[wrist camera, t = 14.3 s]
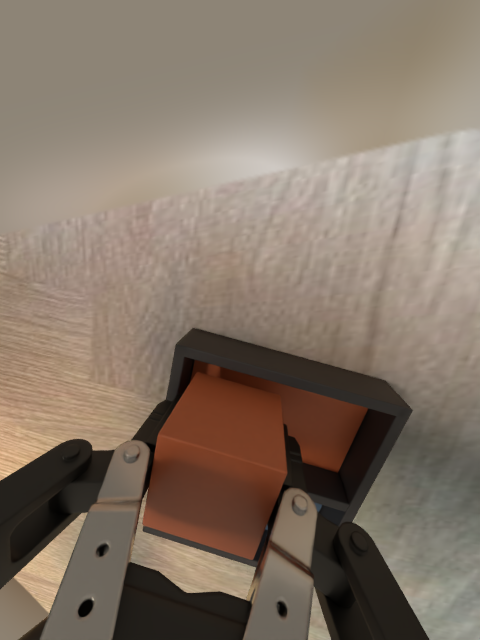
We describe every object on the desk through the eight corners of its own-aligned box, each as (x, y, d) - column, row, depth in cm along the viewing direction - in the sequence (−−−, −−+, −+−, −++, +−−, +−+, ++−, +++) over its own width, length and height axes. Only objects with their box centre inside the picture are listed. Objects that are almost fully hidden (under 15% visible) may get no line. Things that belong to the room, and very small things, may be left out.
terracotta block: (182, 439, 14) (141, 525, 9) (196, 371, 12) (157, 433, 8) (258, 461, 13) (253, 561, 9) (281, 395, 12) (288, 473, 8)
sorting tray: (160, 491, 18) (142, 531, 16) (192, 327, 14) (175, 343, 12) (309, 537, 18) (317, 587, 15) (385, 380, 14) (413, 410, 11)
